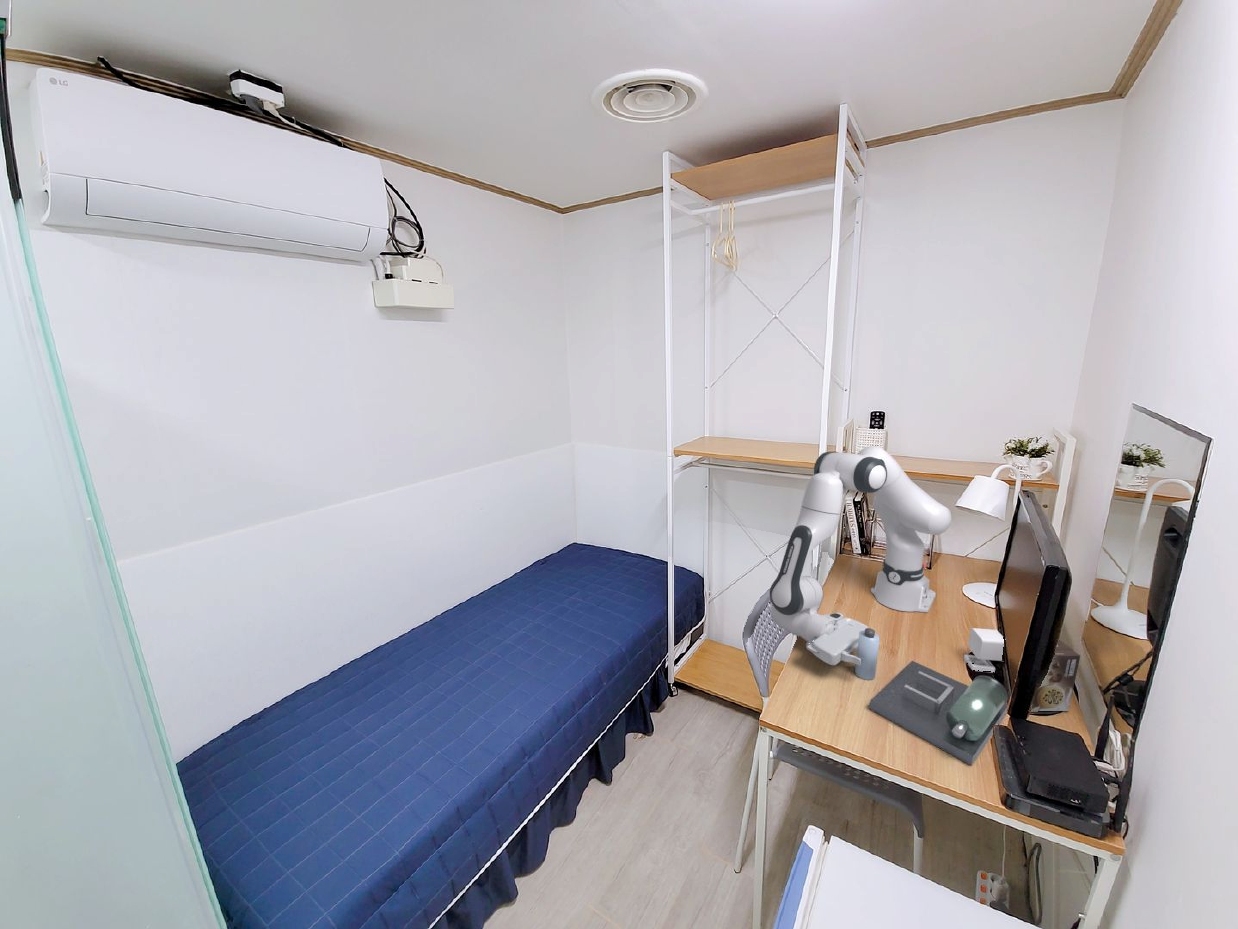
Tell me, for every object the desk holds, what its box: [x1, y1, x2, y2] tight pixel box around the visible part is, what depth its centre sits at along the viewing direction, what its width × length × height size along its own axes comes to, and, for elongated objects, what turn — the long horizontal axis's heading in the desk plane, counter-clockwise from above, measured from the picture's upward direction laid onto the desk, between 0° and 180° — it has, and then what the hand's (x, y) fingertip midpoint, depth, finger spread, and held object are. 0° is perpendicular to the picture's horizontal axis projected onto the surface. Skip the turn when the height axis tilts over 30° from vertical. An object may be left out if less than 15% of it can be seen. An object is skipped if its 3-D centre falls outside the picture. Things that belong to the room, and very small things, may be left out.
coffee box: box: [1029, 639, 1081, 713], centre depth 122 cm, size 9×6×16 cm
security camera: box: [963, 627, 1004, 673], centre depth 137 cm, size 6×7×10 cm
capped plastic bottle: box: [854, 627, 881, 681], centre depth 134 cm, size 5×5×14 cm
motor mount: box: [868, 660, 1009, 767], centre depth 121 cm, size 24×22×10 cm
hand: (870, 654), depth 134 cm, fingers open, 8 cm apart
